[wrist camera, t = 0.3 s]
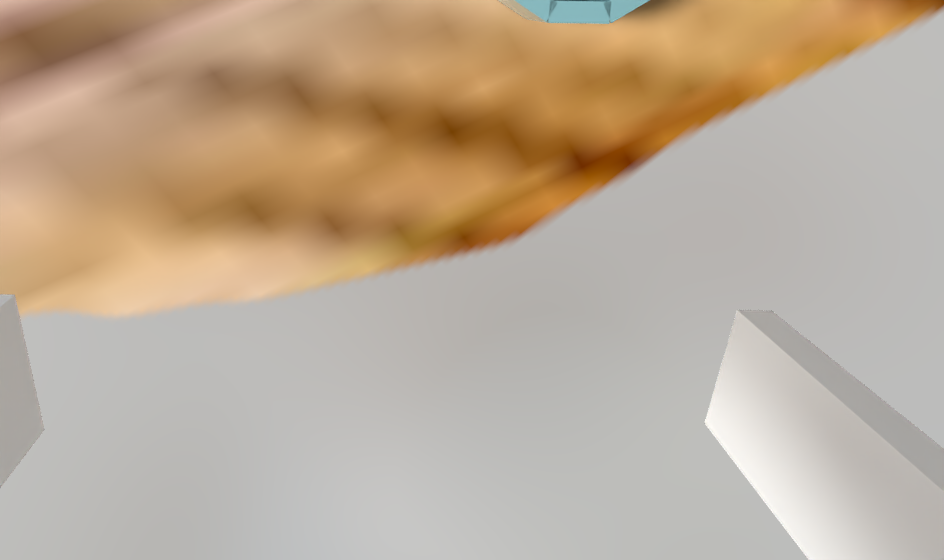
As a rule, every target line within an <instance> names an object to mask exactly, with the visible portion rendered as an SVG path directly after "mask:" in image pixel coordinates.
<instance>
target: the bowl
mask: <svg viewBox="0 0 944 560" xmlns="http://www.w3.org/2000/svg"><path fill="white" fill-rule="evenodd" d="M498 1H499V2H501V3H502V4H504V5H505V6H507V7H508V8H510V9H511V10H513V11H514V12H516V13H517V14H519V15H520V16H522V17H523V18H525V19H529V20H535V21H541V22H547V23H599V24H609V23H612V22H614V21H616V20H617V19H619V18H621V17H622V16H624V15H626V14H627V13H629V12H631V11H632V10H634V9H636V8H638V7H639V6H641V5H643V4H644V3H646V2H648V1H649V0H498Z"/></svg>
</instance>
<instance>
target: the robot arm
mask: <svg viewBox="0 0 944 560" xmlns="http://www.w3.org/2000/svg"><path fill="white" fill-rule="evenodd" d="M705 424H706V426H707V427H708V428H709V430H710V431H711V432H712V433H713V435H714V436H715V438H716V439H717V440H718V441H719V442H720V444H721V445H722V447H723V448H724V449H725V451H726V452H727V453H728V454H729V456H730V457H731V458H732V460H733V461H734V462H735V464H736V465H737V466H738V468H739V469H740V470H741V472H742V473H743V474H744V476H745V477H746V478H747V479H748V481H749V482H750V483H751V485H752V486H753V487H754V489H755V490H756V491H757V492H758V494H759V495H760V496H761V498H762V499H763V500H764V502H765V503H766V504H767V506H768V507H769V508H770V510H771V511H772V512H773V513H774V515H775V516H776V517H777V519H778V520H779V521H780V523H781V524H782V525H783V527H784V528H785V529H786V531H787V532H788V533H789V534H790V536H791V537H792V538H793V540H794V541H795V542H796V544H797V545H798V546H799V548H800V549H801V550H802V552H803V553H804V554H805V555H806V557H807V558H808V559H809V560H944V449H943V448H942V447H941V446H940V445H938V444H937V443H936V442H935V441H934V440H932V439H931V438H930V437H929V436H927V435H926V434H925V433H924V432H922V431H921V430H920V429H919V428H917V427H916V426H915V425H914V424H912V423H911V422H910V421H909V420H907V419H906V418H905V417H904V416H902V415H901V414H900V413H898V412H897V411H896V410H895V409H894V408H892V407H891V406H890V405H889V404H887V403H886V402H885V401H884V400H882V399H881V398H880V397H879V396H877V395H876V394H875V393H874V392H872V391H871V390H870V389H869V388H868V387H866V386H865V385H864V384H863V383H861V382H860V381H859V380H857V379H856V378H855V377H854V376H853V375H851V374H850V373H849V372H847V371H846V370H845V369H844V368H842V367H841V366H840V365H839V364H838V363H836V362H835V361H834V360H832V359H831V358H830V357H829V356H828V355H826V354H825V353H824V352H823V351H821V350H820V349H819V348H818V347H816V346H815V345H814V344H813V343H811V342H810V341H809V340H808V339H806V338H805V337H804V336H803V335H801V334H800V333H799V332H798V331H796V330H795V329H794V328H793V327H791V326H790V325H789V324H788V323H787V322H785V321H784V320H783V319H781V318H780V317H779V316H778V315H777V314H775V313H774V312H773V311H760V310H759V311H758V310H737V312H736V316H735V319H734V323H733V326H732V329H731V333H730V336H729V340H728V343H727V347H726V350H725V354H724V357H723V361H722V364H721V368H720V371H719V375H718V378H717V382H716V385H715V389H714V392H713V395H712V399H711V402H710V406H709V409H708V413H707V416H706V420H705ZM43 431H44V426H43V421H42V416H41V412H40V407H39V403H38V399H37V394H36V389H35V385H34V380H33V375H32V371H31V366H30V362H29V357H28V353H27V348H26V344H25V339H24V335H23V330H22V326H21V321H20V316H19V312H18V307H17V303H16V298H15V295H3V294H0V487H1V486H2V485H3V483H4V482H5V481H6V480H7V478H8V477H9V475H10V474H11V473H12V471H13V470H14V469H15V468H16V466H17V465H18V463H19V462H20V461H21V460H22V458H23V457H24V456H25V455H26V453H27V452H28V451H29V449H30V448H31V447H32V445H33V444H34V443H35V441H36V440H37V439H38V437H39V436H40V435H41V433H42V432H43Z"/></svg>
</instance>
